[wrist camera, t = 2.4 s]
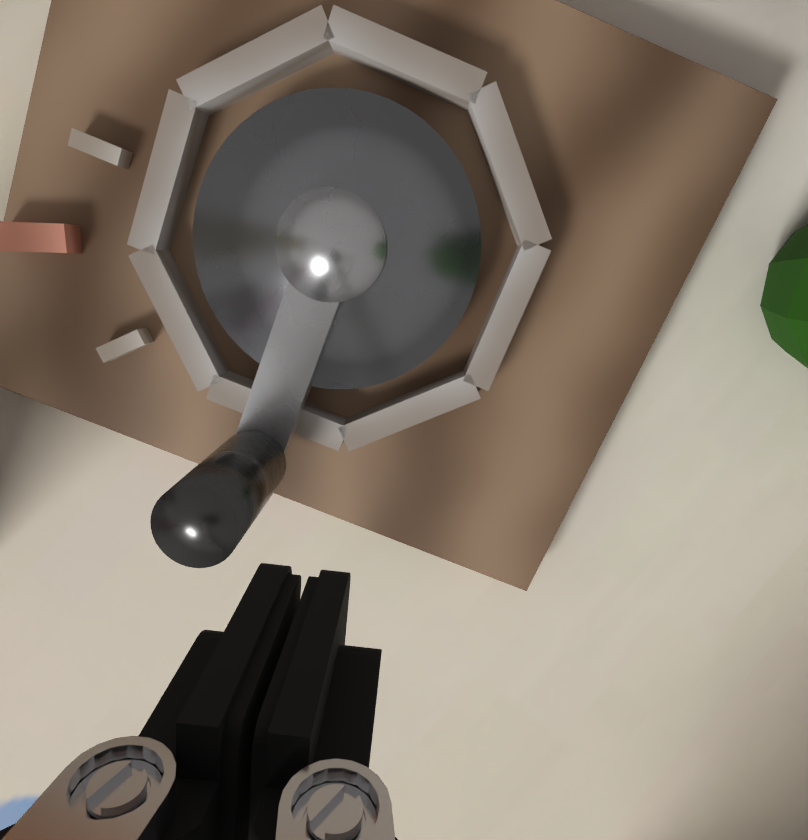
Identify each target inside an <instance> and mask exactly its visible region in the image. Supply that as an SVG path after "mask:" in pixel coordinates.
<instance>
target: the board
mask: <svg viewBox="0 0 808 840" xmlns="http://www.w3.org/2000/svg"><path fill="white" fill-rule="evenodd" d="M327 87H335V88H351V89H357V90H362V91H367V92H371V93H374V94H377V95H380V96H382V97H385V98H388V99H390V100H392V101H394V102H396V103H398V104H400V105H402V106H404V107H406V108H408V109H409V110H410V111H412V112H413V113H415V114H416V115H418V116H419V117H420V118H422V119H423V120H424V121H426V122H427V123H428V124H429V125H430V126H431V127H432V128H433V129H434V130H435V131H436V132H437V133H438V134H439V135H440V136H441V137H442V138H443V140H444V141H445V142H446V143H447V144H448V146H449V147H450V148H451V149H452V151H453V152H454V154H455V156H456V157H457V159H458V160H459V162H460V164H461V165H462V167H463V169H464V171H465V173H466V176H467V178H468V180H469V182H470V184H471V187H472V190H473V193H474V197H475V200H476V203H477V207H478V213H479V219H480V225H481V257H480V267H479V272H478V276H477V281H476V285H475V288H474V291H473V294H472V297H471V299H470V302H469V304H468V306H467V308H466V310H465V312H464V314H463V316H462V318H461V320H460V322H459V323H458V325H457V326H456V328H455V329H454V331H453V332H452V334H451V335H450V336H449V337H448V339H447V340H446V341H445V342H444V343H443V344H442V345H441V346H440V348H439V349H438V350H437V351H435V352H434V353H433V354H432V355H431V356H430V357H429V358H427V359H426V360H425V361H424V362H422V363H421V364H419V365H418V366H416V367H415V368H413V369H412V370H410V371H409V372H407V373H405V374H403V375H401V376H399V377H397V378H395V379H392V380H389V381H386V382H383V383H380V384H378V385H373V386H368V387H363V388H357V389H342V390H340V389H324V388H318V387H313V386H312V387H311V389H310V392H309V395H308V397H307V400H306V403H305V406H304V408H303V411H302V414H301V416H300V419H299V422H298V424H297V427H296V430H295V433H294V435H293V438H292V441H291V443H290V446H289V449H288V452H287V454H286V457H285V458H286V472H285V475H284V477H283V479H282V481H281V482H280V484H279V485H278V487H277V488H276V490H275V491H274V493H275V494H278V495H281V496H283V497H286V498H288V499H291V500H293V501H296V502H299V503H301V504H304V505H306V506H309V507H312V508H314V509H317V510H319V511H322V512H324V513H327V514H330V515H332V516H335V517H337V518H340V519H342V520H345V521H348V522H350V523H353V524H355V525H358V526H360V527H363V528H366V529H368V530H371V531H373V532H376V533H378V534H381V535H384V536H386V537H389V538H391V539H394V540H396V541H399V542H402V543H404V544H407V545H409V546H412V547H414V548H417V549H420V550H422V551H425V552H427V553H430V554H433V555H435V556H438V557H440V558H443V559H445V560H448V561H451V562H453V563H456V564H458V565H461V566H463V567H466V568H469V569H471V570H474V571H476V572H479V573H481V574H484V575H487V576H489V577H492V578H494V579H497V580H499V581H502V582H505V583H507V584H510V585H512V586H515V587H517V588H520V589H523V590H525V591H527V589H528V587H529V585H530V583H531V581H532V579H533V577H534V575H535V573H536V571H537V569H538V567H539V565H540V563H541V561H542V559H543V558H544V556H545V554H546V552H547V550H548V548H549V546H550V544H551V542H552V540H553V538H554V536H555V534H556V532H557V530H558V528H559V526H560V524H561V522H562V520H563V518H564V516H565V514H566V512H567V511H568V509H569V507H570V505H571V503H572V501H573V499H574V497H575V495H576V493H577V491H578V489H579V487H580V485H581V483H582V481H583V479H584V477H585V475H586V473H587V471H588V469H589V467H590V465H591V464H592V462H593V460H594V458H595V456H596V454H597V452H598V450H599V448H600V446H601V444H602V442H603V440H604V438H605V436H606V434H607V432H608V430H609V428H610V426H611V424H612V422H613V420H614V419H615V417H616V415H617V413H618V411H619V409H620V407H621V405H622V403H623V401H624V399H625V397H626V395H627V393H628V391H629V389H630V387H631V385H632V383H633V381H634V379H635V377H636V375H637V373H638V372H639V370H640V368H641V366H642V364H643V362H644V360H645V358H646V356H647V354H648V352H649V350H650V348H651V346H652V344H653V342H654V340H655V338H656V336H657V334H658V332H659V330H660V328H661V326H662V325H663V323H664V321H665V319H666V317H667V315H668V313H669V311H670V309H671V307H672V305H673V303H674V301H675V299H676V297H677V295H678V293H679V291H680V289H681V287H682V285H683V283H684V281H685V280H686V278H687V276H688V274H689V272H690V270H691V268H692V266H693V264H694V262H695V260H696V258H697V256H698V254H699V252H700V250H701V248H702V246H703V244H704V242H705V240H706V238H707V236H708V234H709V233H710V231H711V229H712V227H713V225H714V223H715V221H716V219H717V217H718V215H719V213H720V211H721V209H722V207H723V205H724V203H725V201H726V199H727V197H728V195H729V193H730V191H731V189H732V187H733V186H734V184H735V182H736V180H737V178H738V176H739V174H740V172H741V170H742V168H743V166H744V164H745V162H746V160H747V158H748V156H749V154H750V152H751V150H752V148H753V146H754V144H755V142H756V141H757V139H758V137H759V135H760V133H761V131H762V129H763V127H764V125H765V123H766V121H767V119H768V117H769V115H770V113H771V111H772V109H773V107H774V105H775V103H776V101H777V99H775V98H773V97H771V96H769V95H766V94H764V93H762V92H760V91H758V90H755V89H753V88H751V87H749V86H746V85H744V84H742V83H740V82H737V81H735V80H733V79H731V78H728V77H726V76H724V75H722V74H720V73H717V72H715V71H713V70H711V69H708V68H706V67H704V66H702V65H699V64H697V63H695V62H693V61H690V60H688V59H686V58H684V57H682V56H679V55H677V54H675V53H673V52H670V51H668V50H666V49H664V48H661V47H659V46H657V45H655V44H652V43H650V42H648V41H646V40H644V39H641V38H639V37H637V36H635V35H632V34H630V33H628V32H626V31H623V30H621V29H619V28H617V27H614V26H612V25H610V24H608V23H606V22H603V21H601V20H599V19H597V18H594V17H592V16H590V15H588V14H585V13H583V12H581V11H579V10H576V9H574V8H572V7H570V6H568V5H565V4H563V3H561V2H559V1H556V0H52V1H51V5H50V10H49V14H48V19H47V24H46V28H45V33H44V38H43V42H42V47H41V51H40V56H39V61H38V65H37V70H36V75H35V79H34V84H33V88H32V93H31V98H30V102H29V107H28V111H27V116H26V121H25V125H24V130H23V135H22V139H21V144H20V148H19V153H18V158H17V162H16V167H15V172H14V176H13V181H12V185H11V190H10V195H9V199H8V204H7V209H6V213H5V218H4V222H0V387H3V388H5V389H8V390H10V391H13V392H15V393H18V394H21V395H23V396H26V397H28V398H31V399H33V400H36V401H39V402H41V403H44V404H46V405H49V406H51V407H54V408H57V409H59V410H62V411H64V412H67V413H70V414H72V415H75V416H77V417H80V418H82V419H85V420H88V421H90V422H93V423H95V424H98V425H100V426H103V427H106V428H108V429H111V430H113V431H116V432H118V433H121V434H124V435H126V436H129V437H131V438H134V439H136V440H139V441H142V442H144V443H147V444H149V445H152V446H154V447H157V448H160V449H162V450H165V451H167V452H170V453H172V454H175V455H178V456H180V457H183V458H185V459H188V460H191V461H193V462H196V463H198V464H200V463H201V462H202V461H203V460H204V459H206V458H207V457H208V456H209V455H210V454H211V453H213V452H214V451H215V450H216V449H217V448H218V447H220V446H221V445H222V444H223V443H224V442H225V441H227V440H228V439H229V438H230V437H231V436H233V435H234V434H236V432H237V429H238V426H239V423H240V420H241V417H242V414H243V412H244V409H245V406H246V403H247V400H248V397H249V394H250V391H251V388H252V385H253V382H254V379H255V377H256V374H257V371H258V368H259V365H260V364H259V363H258V362H256V361H255V360H254V359H253V358H252V357H250V356H249V355H248V354H247V353H245V352H244V351H243V350H242V349H241V348H240V347H239V346H238V345H237V344H236V343H235V342H234V341H233V339H232V338H231V337H230V336H229V335H228V334H227V332H226V331H225V330H224V328H223V327H222V325H221V324H220V323H219V321H218V320H217V318H216V316H215V314H214V313H213V311H212V309H211V307H210V306H209V304H208V301H207V299H206V296H205V294H204V292H203V289H202V287H201V283H200V280H199V276H198V273H197V269H196V263H195V257H194V250H193V221H194V211H195V206H196V201H197V197H198V192H199V189H200V186H201V183H202V181H203V178H204V175H205V173H206V170H207V169H208V167H209V165H210V163H211V161H212V159H213V157H214V155H215V154H216V152H217V151H218V149H219V148H220V147H221V145H222V144H223V142H224V141H225V140H226V138H227V137H228V136H229V135H230V134H231V133H232V132H233V131H234V130H235V129H236V128H237V126H238V125H239V124H240V123H242V122H243V121H244V120H245V119H247V118H248V117H249V116H250V115H252V114H253V113H254V112H255V111H257V110H259V109H261V108H262V107H264V106H266V105H267V104H269V103H271V102H272V101H275V100H277V99H280V98H282V97H285V96H287V95H289V94H293V93H297V92H301V91H305V90H309V89H317V88H327Z"/></svg>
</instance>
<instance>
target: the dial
mask: <svg viewBox="0 0 808 840" xmlns="http://www.w3.org/2000/svg"><path fill="white" fill-rule="evenodd" d="M193 250H194V257H195V263H196V269H197V273H198V276H199V280H200V283H201V287H202V289H203V292H204V294H205V296H206V299H207V301H208V304H209V306H210V307H211V309H212V311H213V313H214V314H215V316H216V318H217V320H218V321H219V323H220V324H221V325H222V327H223V328H224V330H225V331H226V332H227V334H228V335H229V336H230V337H231V338H232V339H233V341H234V342H235V343H236V344H237V345H238V346H239V347H240V348H241V349H242V350H243V351H244V352H245V353H247V354H248V355H249V356H250V357H252V358H253V359H254V360H255V361H256V362H258V363H259V364H260V365H259V368H258V371H257V374H256V377H255V379H254V382H253V385H252V388H251V391H250V394H249V397H248V400H247V403H246V406H245V409H244V412H243V414H242V417H241V420H240V423H239V426H238V429H237V432H236V434H234V435H233V436H231V437H230V438H229V439H228V440H227V441H225V442H224V443H223V444H222V445H221V446H220V447H218V448H217V449H216V450H215V451H214V452H213V453H211V454H210V455H209V456H208V457H207V458H206V459H204V460H203V461H202V462H201V463H200V464H198V465H197V466H196V467H195V468H194V469H193V470H191V471H190V472H189V473H188V474H187V475H186V476H184V477H183V478H182V479H181V480H180V481H179V482H177V483H176V484H175V485H174V486H173V487H172V488H170V489H169V490H168V491H167V492H166V493H165V494H163V495H162V496H161V497H160V498H159V500H158V501H157V502H156V504H155V506H154V508H153V511H152V514H151V530H152V534H153V537H154V539H155V541H156V543H157V545H158V546H159V548H160V549H161V550H162V551H163V552H164V553H165V554H166V555H167V556H168V557H169V558H171V559H172V560H174V561H175V562H177V563H179V564H182V565H185V566H188V567H193V568H205V567H211V566H214V565H216V564H219V563H221V562H222V561H224V560H225V559H226V558H227V557H229V555H230V554H231V553H232V552H233V550H234V549H235V547H236V546H237V545H238V543H239V542H240V540H241V539H242V537H243V536H244V534H245V533H246V532H247V530H248V529H249V527H250V526H251V524H252V523H253V521H254V520H255V519H256V517H257V516H258V514H259V513H260V511H261V510H262V508H263V507H264V506H265V504H266V503H267V501H268V500H269V498H270V497H271V495H272V494H273V493H274V491H275V490H276V488H277V487H278V485H279V484H280V482H281V481H282V479H283V477H284V475H285V472H286V458H285V457H286V454H287V452H288V449H289V446H290V443H291V441H292V438H293V435H294V433H295V430H296V427H297V424H298V422H299V419H300V416H301V414H302V411H303V408H304V406H305V403H306V400H307V397H308V395H309V392H310V389H311V387H312V386H313V387H318V388H324V389H340V390H342V389H357V388H363V387H368V386H373V385H378V384H380V383H383V382H386V381H389V380H392V379H395V378H397V377H399V376H401V375H403V374H405V373H407V372H409V371H410V370H412V369H413V368H415V367H416V366H418V365H419V364H421V363H422V362H424V361H425V360H426V359H427V358H429V357H430V356H431V355H432V354H433V353H434V352H435V351H437V350H438V349H439V348H440V346H441V345H442V344H443V343H444V342H445V341H446V340H447V339H448V337H449V336H450V335H451V334H452V332H453V331H454V329H455V328H456V326H457V325H458V323H459V322H460V320H461V318H462V316H463V314H464V312H465V310H466V308H467V306H468V304H469V302H470V299H471V297H472V294H473V291H474V288H475V285H476V281H477V276H478V272H479V267H480V257H481V225H480V219H479V213H478V207H477V203H476V200H475V197H474V193H473V190H472V187H471V184H470V182H469V180H468V178H467V176H466V173H465V171H464V169H463V167H462V165H461V164H460V162H459V160H458V159H457V157H456V156H455V154H454V152H453V151H452V149H451V148H450V147H449V146H448V144H447V143H446V142H445V141H444V140H443V138H442V137H441V136H440V135H439V134H438V133H437V132H436V131H435V130H434V129H433V128H432V127H431V126H430V125H429V124H428V123H427V122H426V121H424V120H423V119H422V118H420V117H419V116H418V115H416V114H415V113H413V112H412V111H410V110H409V109H408V108H406V107H404V106H402V105H400V104H398V103H396V102H394V101H392V100H390V99H388V98H385V97H382V96H380V95H377V94H374V93H371V92H367V91H362V90H357V89H351V88H335V87H327V88H317V89H309V90H305V91H301V92H297V93H293V94H289V95H287V96H285V97H282V98H280V99H277V100H275V101H272V102H271V103H269V104H267V105H266V106H264V107H262V108H261V109H259V110H257V111H255V112H254V113H253V114H252V115H250V116H249V117H248V118H247V119H245V120H244V121H243V122H242V123H240V124H239V125H238V126H237V128H236V129H235V130H234V131H233V132H232V133H231V134H230V135H229V136H228V137H227V138H226V140H225V141H224V142H223V144H222V145H221V147H220V148H219V149H218V151H217V152H216V154H215V155H214V157H213V159H212V161H211V163H210V165H209V167H208V169H207V170H206V173H205V175H204V178H203V181H202V183H201V186H200V189H199V192H198V197H197V201H196V206H195V211H194V221H193Z"/></svg>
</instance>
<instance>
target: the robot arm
mask: <svg viewBox="0 0 808 840" xmlns="http://www.w3.org/2000/svg"><path fill="white" fill-rule="evenodd" d="M349 589H350V573H346V572H337V571H328V570H321V572H320V575H319V577H311V576H309V578H308V580H307V583H306V585H305V588H304V591H303V594H302V597H301V599H300V592H301V576H300V575H293V574H292V571H291V566H283V565H274V564H265V563H261V564H260V565H259V567H258V569H257V571H256V573H255V575H254V576H253V578H252V580H251V582H250V584H249V586H248V588H247V590H246V592H245V593H244V595H243V597H242V599H241V601H240V603H239V605H238V607H237V609H236V610H235V612H234V614H233V616H232V618H231V620H230V622H229V624H228V625H227V627H226V629H225V631H224V632H220V631H211V630H204V631H202V632H201V633H200V634H199V635H198V637H197V638H196V640H195V642H194V643H193V645H192V647H191V649H190V650H189V652H188V654H187V655H186V657H185V659H184V660H183V662H182V664H181V665H180V667H179V669H178V670H177V672H176V674H175V676H174V677H173V679H172V681H171V682H170V684H169V686H168V687H167V689H166V691H165V692H164V694H163V696H162V697H161V699H160V701H159V703H158V704H157V706H156V708H155V709H154V711H153V713H152V714H151V716H150V718H149V719H148V721H147V723H146V724H145V726H144V728H143V730H142V731H141V733H140V735H139V736H129V737H121V738H115V739H112V740H109V741H106V742H103V743H100V744H97V745H96V746H94V747H92V748H90V749H89V750H87V751H85V752H83V753H82V754H80V755H79V756H78V757H77V758H76V759H75V760H74V761H72V762H71V763H70V764H69V765H68V766H67V767H66V768H65V769H64V770H63V771H62V772H61V773H60V775H59V776H58V777H57V778H56V779H55V780H54V781H53V782H52V784H51V785H50V786H49V787H48V788H47V789H46V790H45V791H44V792H43V794H42V795H41V796H40V797H39V798H38V799H37V800H36V801H35V803H34V804H33V805H32V806H31V807H30V808H29V809H28V810H27V812H26V813H25V814H24V815H23V816H22V817H21V818H20V819H19V820H18V821H17V823H16V824H13V825H11V826H9V827H7V828H5V829H3V830H1V831H0V840H398V839H397V838H396V837H395V833H394V824H393V814H392V805H391V800H390V797H389V793H388V790H387V787H386V786H385V785H384V783H383V782H382V780H381V779H380V777H379V776H378V775H377V774H375V773H374V772H373V771H372V770H370V769H369V761H370V752H371V743H372V734H373V725H374V716H375V707H376V698H377V688H378V679H379V670H380V661H381V651H382V649H373V648H364V647H355V646H346V645H345V635H346V623H347V612H348V600H349Z"/></svg>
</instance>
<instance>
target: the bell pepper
mask: <svg viewBox="0 0 808 840" xmlns="http://www.w3.org/2000/svg"><path fill="white" fill-rule="evenodd" d="M760 306H761V309H762V312H763V314H764V317H765V320H766V323H767V326H768V329H769V332H770V335H771V338H772V339H773V340H774V341H775V342H776V343H777V344H778V345H779V346H780V347H781V348H782V349H784V350H785V351H786V352H787V353H788V354H790V355H791V356H792V357H794V358H795V359H796V360H798V361H799V362H800V363H802V364H803V365H804V366H806V367H807V368H808V225H806V226H805V227H803V228H801V229H799V230H797V231H796V232H794V234H793V235H792V236H791V237H790V239H789V240H788V241H787V242H786V244H785V245H784V246H783V247H782V248H781V250H780V251H779V252H778V253H777V255H776V256H775V257H774V258H773V260H772V261H771V262H770V263H769V268H768V272H767V277H766V282H765V286H764V291H763V296H762V300H761V305H760Z"/></svg>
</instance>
